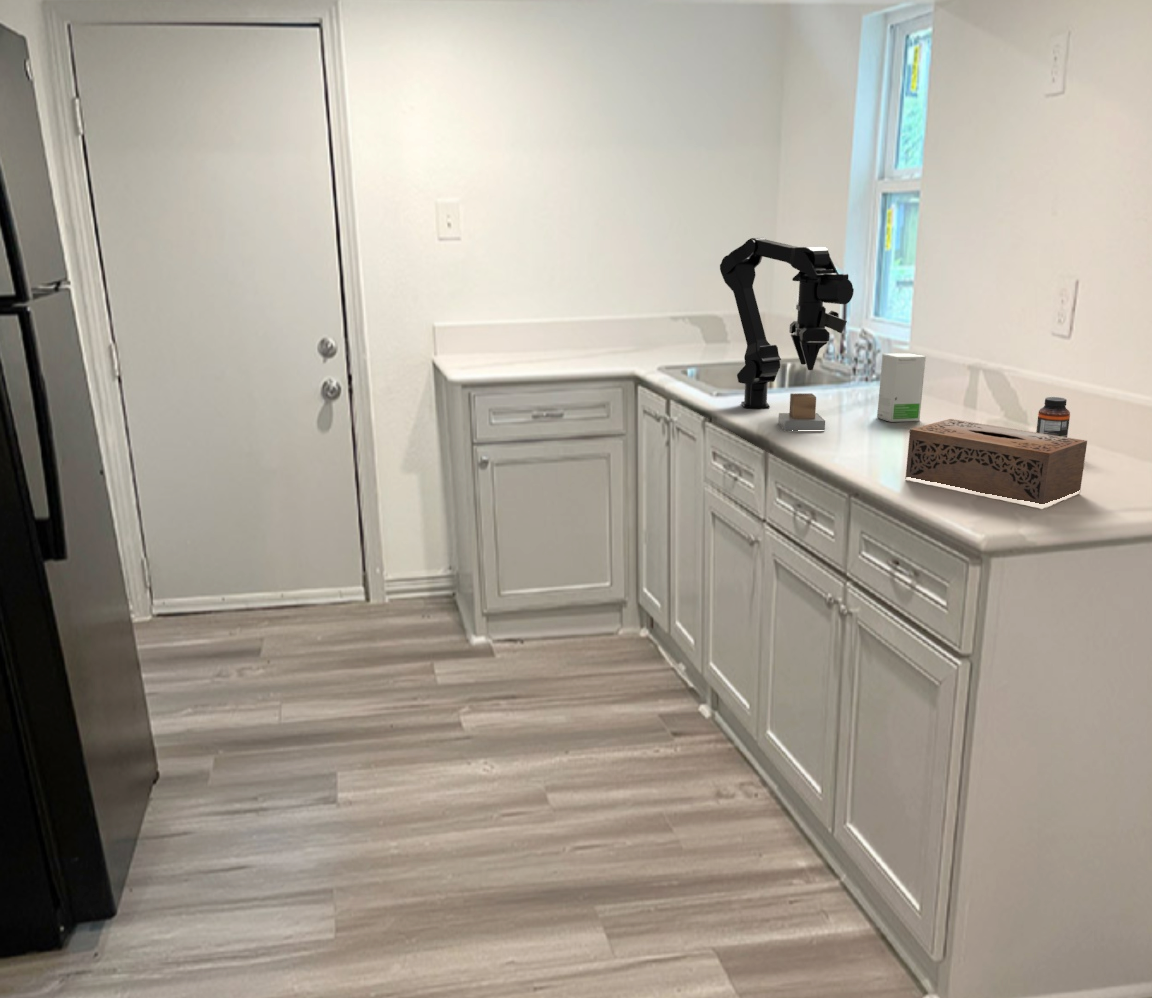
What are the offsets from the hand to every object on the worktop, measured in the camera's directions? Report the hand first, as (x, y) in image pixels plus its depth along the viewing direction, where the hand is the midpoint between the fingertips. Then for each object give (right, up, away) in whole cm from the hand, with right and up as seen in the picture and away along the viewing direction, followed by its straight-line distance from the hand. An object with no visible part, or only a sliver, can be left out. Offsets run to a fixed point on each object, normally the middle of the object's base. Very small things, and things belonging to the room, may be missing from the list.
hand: (806, 367), depth 245 cm
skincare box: (+22, -13, 0) cm, 25 cm away
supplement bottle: (+43, -22, -34) cm, 59 cm away
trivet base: (-3, -16, -9) cm, 18 cm away
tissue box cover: (+20, -30, -60) cm, 70 cm away
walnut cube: (-3, -13, -10) cm, 16 cm away
